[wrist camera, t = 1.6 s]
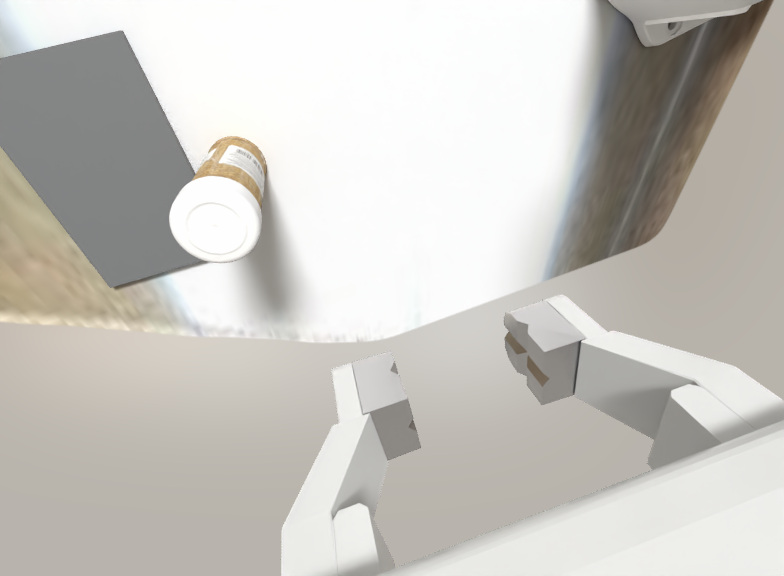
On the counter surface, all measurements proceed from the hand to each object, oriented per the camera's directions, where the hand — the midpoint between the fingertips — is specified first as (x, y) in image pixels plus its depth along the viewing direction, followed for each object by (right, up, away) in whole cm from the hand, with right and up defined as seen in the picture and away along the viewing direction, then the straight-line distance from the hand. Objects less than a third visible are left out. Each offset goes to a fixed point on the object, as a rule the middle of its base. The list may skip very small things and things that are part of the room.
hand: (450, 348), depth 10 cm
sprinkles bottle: (-14, +12, +22) cm, 28 cm away
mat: (-23, +10, +20) cm, 32 cm away
